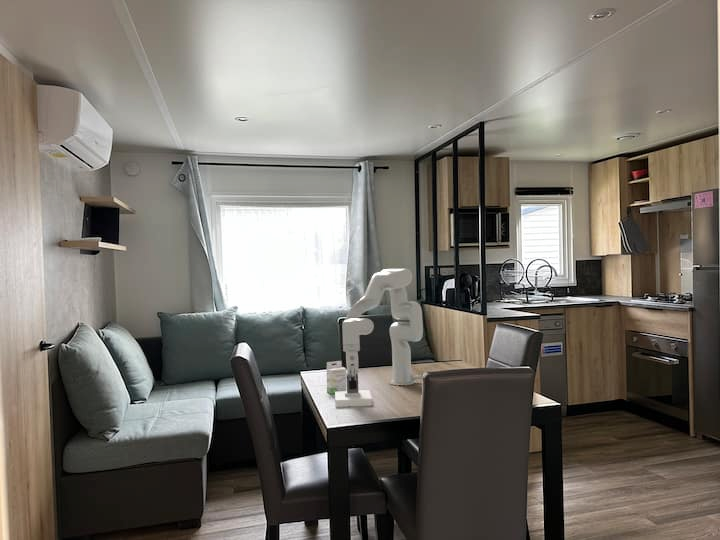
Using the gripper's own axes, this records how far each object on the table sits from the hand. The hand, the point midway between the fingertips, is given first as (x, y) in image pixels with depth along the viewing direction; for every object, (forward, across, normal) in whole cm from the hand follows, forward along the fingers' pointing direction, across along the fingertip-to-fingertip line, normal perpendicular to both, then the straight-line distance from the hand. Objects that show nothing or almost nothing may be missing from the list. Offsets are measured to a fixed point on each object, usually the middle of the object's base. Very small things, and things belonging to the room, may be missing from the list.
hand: (352, 387), depth 230 cm
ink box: (+7, +19, +7) cm, 21 cm away
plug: (+2, 0, 0) cm, 2 cm away
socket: (+7, 0, 0) cm, 7 cm away
